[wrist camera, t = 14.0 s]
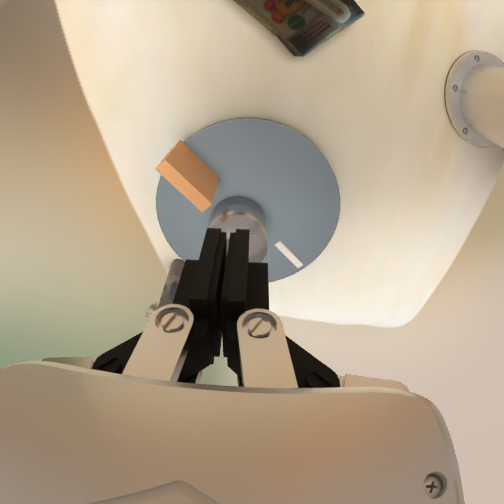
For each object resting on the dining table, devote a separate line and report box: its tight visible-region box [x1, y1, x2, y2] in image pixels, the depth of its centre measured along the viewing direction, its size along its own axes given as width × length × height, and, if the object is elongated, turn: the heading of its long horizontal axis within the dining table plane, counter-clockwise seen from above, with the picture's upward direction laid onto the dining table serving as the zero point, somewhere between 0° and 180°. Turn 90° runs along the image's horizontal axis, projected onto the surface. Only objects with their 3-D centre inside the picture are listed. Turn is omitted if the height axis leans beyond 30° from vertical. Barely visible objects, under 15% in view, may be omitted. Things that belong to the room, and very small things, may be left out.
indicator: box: [146, 259, 185, 322], centre depth 37 cm, size 4×2×12 cm, turn 88°
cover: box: [208, 196, 268, 263], centre depth 32 cm, size 6×6×6 cm
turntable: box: [156, 118, 340, 282], centre depth 32 cm, size 20×20×8 cm
